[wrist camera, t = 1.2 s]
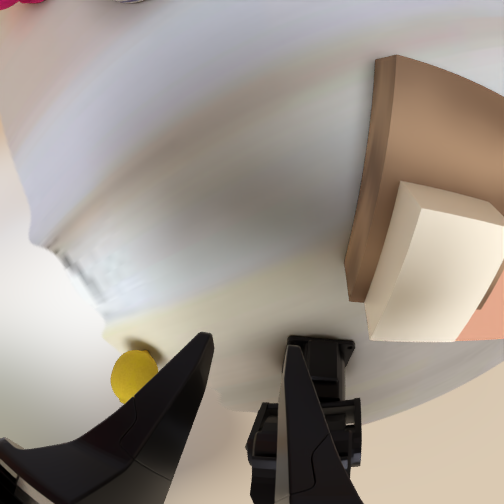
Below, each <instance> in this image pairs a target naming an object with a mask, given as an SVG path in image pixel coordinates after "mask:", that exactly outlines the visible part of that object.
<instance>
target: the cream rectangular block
mask: <svg viewBox="0 0 504 504" xmlns="http://www.w3.org/2000/svg"><path fill="white" fill-rule="evenodd" d="M503 259H504V216H503V215H502V214H501V213H500V212H499V211H498V210H497V209H496V208H495V207H494V206H493V205H492V204H490V203H489V202H487V201H484V200H480V199H477V198H473V197H469V196H466V195H462V194H458V193H454V192H450V191H446V190H441V189H437V188H433V187H428V186H424V185H419V184H414V183H409V182H404V181H400V185H399V189H398V193H397V198H396V202H395V206H394V210H393V214H392V217H391V221H390V225H389V228H388V232H387V235H386V239H385V242H384V246H383V249H382V252H381V255H380V259H379V262H378V265H377V268H376V271H375V274H374V277H373V280H372V283H371V285H370V288H369V291H368V294H367V296H366V299H365V302H364V304H365V311H366V317H367V324H368V331H369V339H370V340H372V341H396V342H454V341H455V340H456V339H457V337H458V336H459V334H460V333H461V331H462V330H463V329H464V327H465V326H466V324H467V323H468V321H469V320H470V318H471V316H472V315H473V313H474V312H475V310H476V309H477V307H478V305H479V304H480V302H481V300H482V299H483V297H484V295H485V294H486V292H487V290H488V288H489V286H490V285H491V283H492V281H493V279H494V277H495V275H496V273H497V271H498V269H499V267H500V265H501V263H502V261H503Z"/></svg>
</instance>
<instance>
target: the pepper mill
mask: <svg viewBox="0 0 504 504" xmlns="http://www.w3.org/2000/svg"><path fill="white" fill-rule="evenodd" d="M18 1H20V2H21V3H40V2H42V1H44V0H0V10H3V9H6V8H8V7H10V6H12V5H14V4H15V3H17V2H18Z"/></svg>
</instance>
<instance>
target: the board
mask: <svg viewBox="0 0 504 504" xmlns="http://www.w3.org/2000/svg"><path fill="white" fill-rule="evenodd" d="M400 181H404V182H409V183H414V184H419V185H424V186H428V187H433V188H437V189H441V190H446V191H450V192H454V193H458V194H462V195H466V196H469V197H473V198H477V199H480V200H484V201H487V202H489V203H490V204H492V205H493V206H494V207H495V208H496V209H497V210H498V211H499V212H500V213H501V214H502V215H503V216H504V97H503V96H501V95H499V94H498V93H496V92H494V91H492V90H490V89H488V88H486V87H484V86H482V85H479V84H477V83H475V82H473V81H471V80H468V79H466V78H464V77H461V76H459V75H457V74H454V73H452V72H449V71H446V70H444V69H441V68H438V67H435V66H433V65H430V64H427V63H424V62H420V61H417V60H414V59H411V58H407V57H404V56H400V55H392V56H388V57H384V58H380V59H376V60H375V73H374V87H373V99H372V109H371V118H370V127H369V135H368V142H367V149H366V156H365V163H364V169H363V175H362V181H361V186H360V192H359V197H358V202H357V208H356V212H355V217H354V222H353V227H352V231H351V236H350V240H349V245H348V249H347V253H346V257H345V261H344V265H345V272H346V279H347V287H348V295H349V301H351V302H363V303H364V302H365V299H366V296H367V294H368V291H369V288H370V285H371V283H372V280H373V277H374V274H375V271H376V268H377V265H378V262H379V259H380V255H381V252H382V249H383V246H384V242H385V239H386V235H387V232H388V228H389V225H390V221H391V217H392V214H393V210H394V206H395V202H396V198H397V193H398V189H399V185H400ZM503 270H504V259H503V261H502V263H501V265H500V267H499V269H498V271H497V273H496V275H495V277H494V279H493V281H492V283H491V285H490V286H489V288H488V290H487V292H486V294H485V295H484V297H483V299H482V300H481V302H480V304H479V305H478V307H477V310H481V309H482V307H483V305H484V304H485V302H486V300H487V299H488V297H489V295H490V294H491V292H492V290H493V288H494V287H495V285H496V283H497V281H498V279H499V278H500V276H501V274H502V272H503Z"/></svg>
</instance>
